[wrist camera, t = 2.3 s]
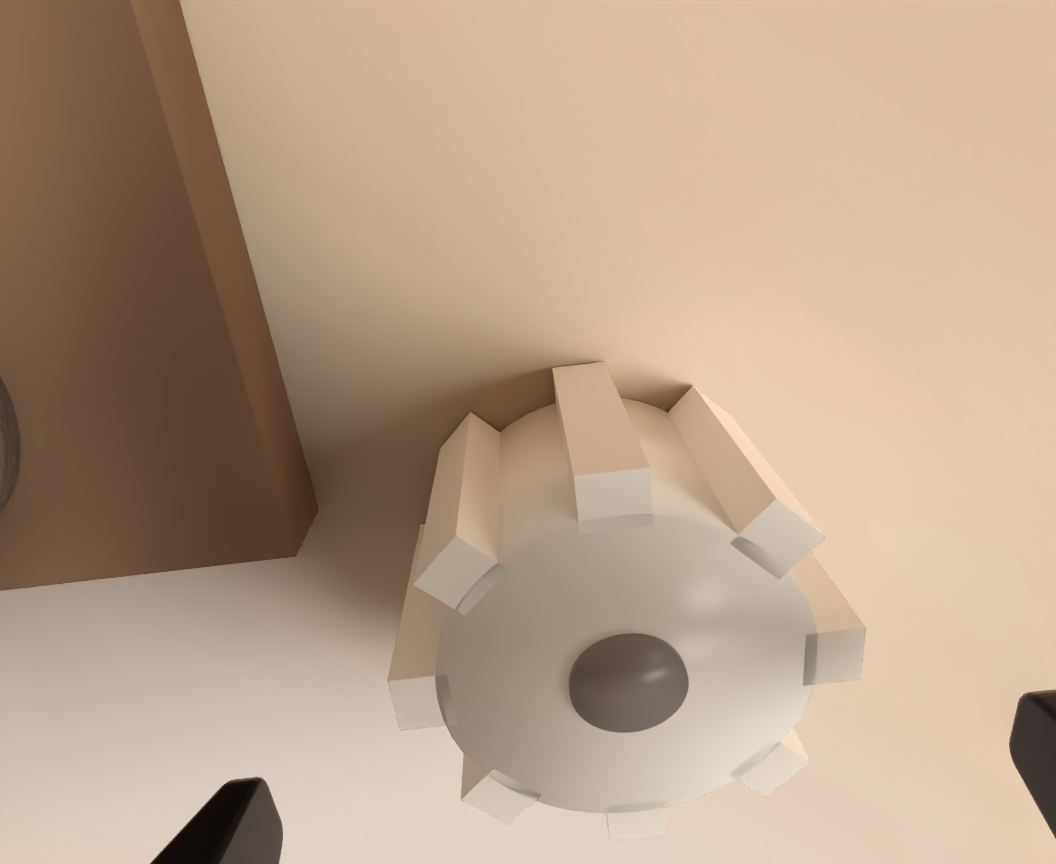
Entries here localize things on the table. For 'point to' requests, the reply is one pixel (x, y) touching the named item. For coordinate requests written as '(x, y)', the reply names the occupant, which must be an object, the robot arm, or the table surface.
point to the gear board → (130, 311)
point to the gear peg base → (8, 447)
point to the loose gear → (616, 609)
